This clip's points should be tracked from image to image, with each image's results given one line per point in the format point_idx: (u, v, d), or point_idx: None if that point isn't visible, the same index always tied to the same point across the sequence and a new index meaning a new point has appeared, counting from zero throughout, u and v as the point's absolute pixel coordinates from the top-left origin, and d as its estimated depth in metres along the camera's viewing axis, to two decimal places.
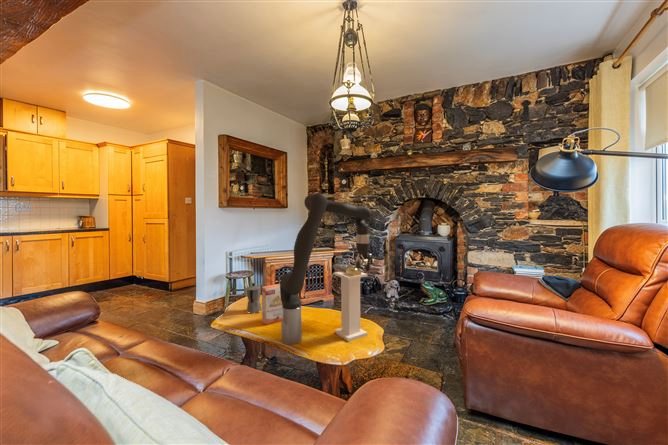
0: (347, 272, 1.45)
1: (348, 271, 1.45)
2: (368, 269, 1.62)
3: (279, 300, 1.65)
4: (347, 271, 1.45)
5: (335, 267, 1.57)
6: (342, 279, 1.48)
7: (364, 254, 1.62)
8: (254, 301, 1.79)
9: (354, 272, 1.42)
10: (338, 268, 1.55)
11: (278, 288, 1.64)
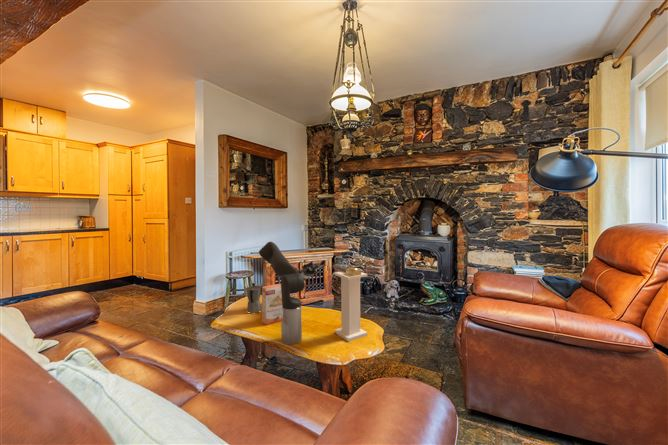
0: (347, 272, 1.45)
1: (348, 271, 1.45)
2: None
3: (279, 300, 1.65)
4: (347, 271, 1.45)
5: (335, 267, 1.57)
6: (342, 279, 1.48)
7: None
8: (254, 301, 1.79)
9: (354, 272, 1.42)
10: (338, 268, 1.55)
11: (278, 288, 1.64)
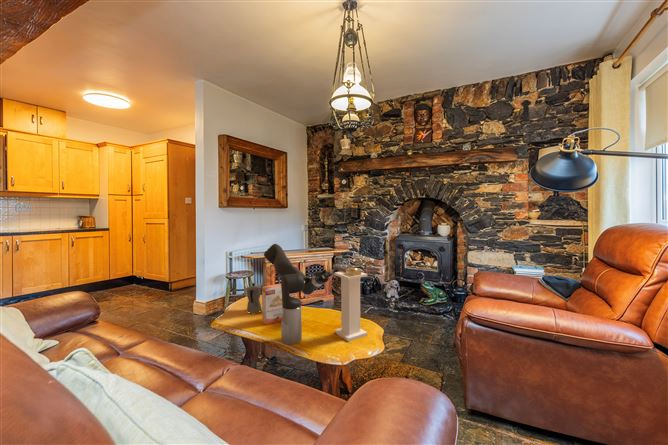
0: (347, 272, 1.45)
1: (348, 271, 1.45)
2: None
3: (279, 300, 1.65)
4: (347, 271, 1.45)
5: (335, 267, 1.57)
6: (342, 279, 1.48)
7: None
8: (254, 301, 1.79)
9: (354, 272, 1.42)
10: (338, 268, 1.55)
11: (278, 288, 1.64)
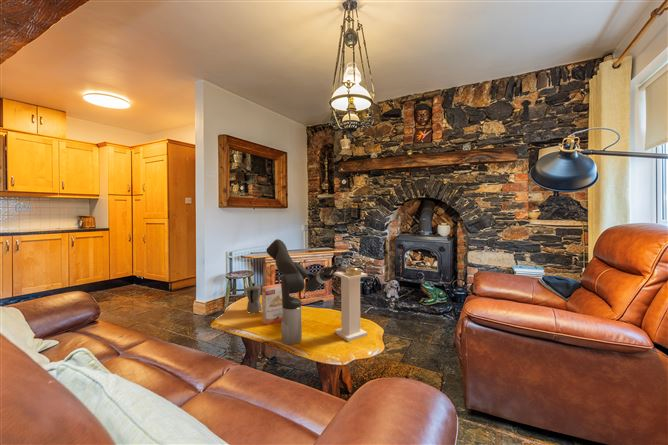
0: (347, 272, 1.45)
1: (348, 271, 1.45)
2: None
3: (279, 300, 1.65)
4: (347, 271, 1.45)
5: None
6: (342, 279, 1.48)
7: None
8: (254, 301, 1.79)
9: (354, 272, 1.42)
10: (338, 268, 1.55)
11: (278, 288, 1.64)
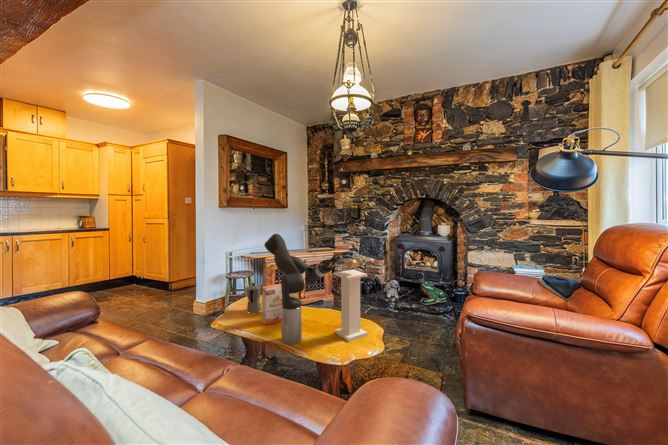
0: (345, 264, 1.46)
1: (346, 263, 1.45)
2: (339, 257, 1.59)
3: (279, 300, 1.65)
4: (345, 263, 1.46)
5: None
6: (342, 279, 1.48)
7: None
8: (254, 301, 1.79)
9: (352, 264, 1.43)
10: (337, 260, 1.55)
11: (278, 288, 1.64)
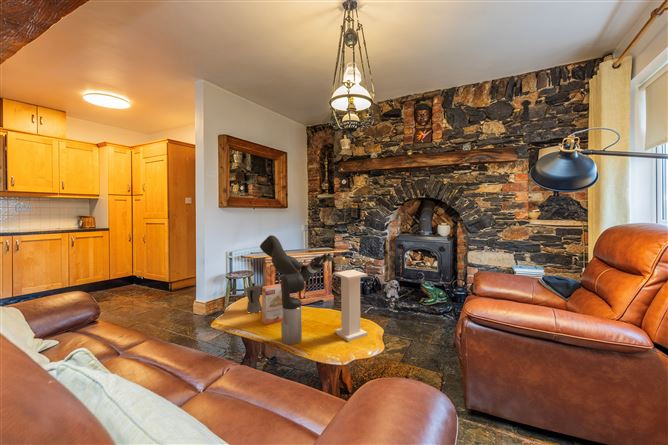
0: (335, 261, 1.54)
1: (336, 260, 1.53)
2: None
3: (279, 300, 1.65)
4: (335, 260, 1.54)
5: None
6: (342, 279, 1.48)
7: None
8: (254, 301, 1.79)
9: (341, 260, 1.51)
10: (327, 258, 1.63)
11: (278, 288, 1.64)
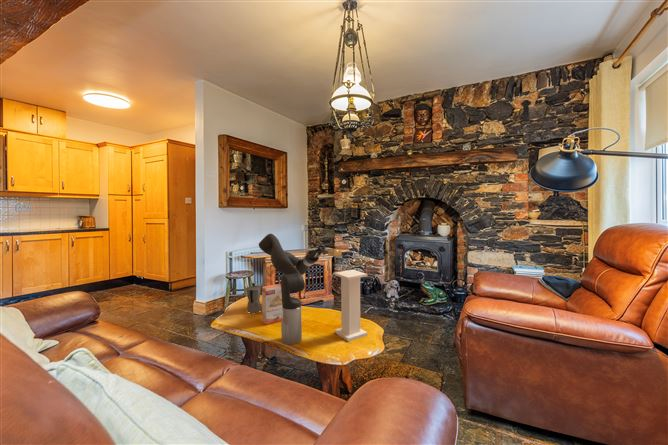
0: (329, 253, 1.59)
1: (330, 252, 1.58)
2: (324, 248, 1.72)
3: (279, 300, 1.65)
4: (329, 252, 1.59)
5: None
6: (342, 279, 1.48)
7: None
8: (254, 301, 1.79)
9: (335, 253, 1.55)
10: (322, 250, 1.68)
11: (278, 288, 1.64)
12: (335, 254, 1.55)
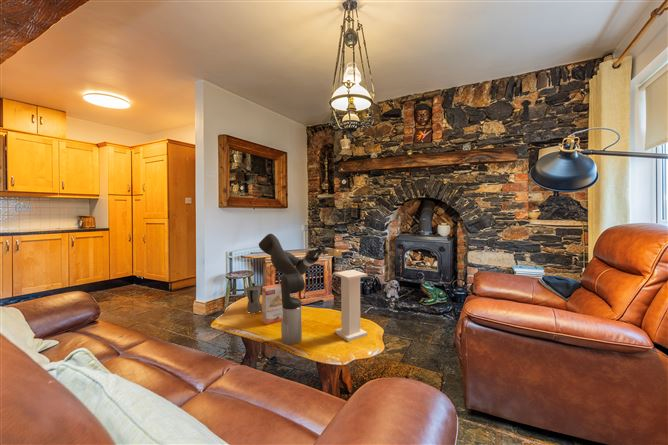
0: (329, 253, 1.59)
1: (330, 252, 1.58)
2: (324, 248, 1.72)
3: (279, 300, 1.65)
4: (329, 252, 1.59)
5: None
6: (342, 279, 1.48)
7: None
8: (254, 301, 1.79)
9: (335, 253, 1.55)
10: (322, 250, 1.68)
11: (278, 288, 1.64)
12: (335, 254, 1.55)
